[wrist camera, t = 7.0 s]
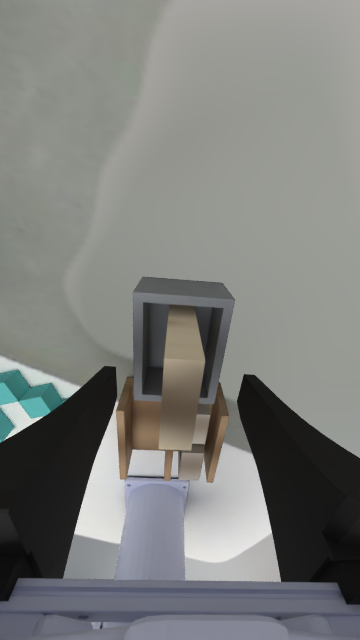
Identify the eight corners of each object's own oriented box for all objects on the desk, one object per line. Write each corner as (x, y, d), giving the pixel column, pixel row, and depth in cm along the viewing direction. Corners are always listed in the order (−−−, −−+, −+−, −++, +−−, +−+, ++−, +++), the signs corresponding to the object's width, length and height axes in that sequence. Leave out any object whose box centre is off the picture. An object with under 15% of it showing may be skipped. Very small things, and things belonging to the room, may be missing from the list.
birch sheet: (185, 363, 19) (191, 450, 12) (165, 362, 19) (158, 449, 12) (192, 300, 17) (205, 360, 9) (169, 298, 17) (164, 358, 9)
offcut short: (201, 419, 21) (204, 444, 19) (181, 418, 21) (182, 443, 19) (206, 392, 20) (210, 414, 18) (185, 391, 20) (186, 413, 18)
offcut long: (196, 450, 23) (199, 480, 21) (178, 449, 23) (178, 479, 21) (200, 424, 22) (204, 453, 19) (181, 423, 22) (182, 452, 19)
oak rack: (207, 443, 24) (212, 482, 21) (128, 440, 24) (120, 479, 20) (220, 382, 21) (229, 416, 17) (127, 377, 20) (116, 410, 17)
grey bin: (207, 371, 20) (214, 404, 17) (141, 367, 20) (134, 400, 16) (222, 282, 17) (234, 299, 13) (142, 276, 16) (133, 292, 13)
